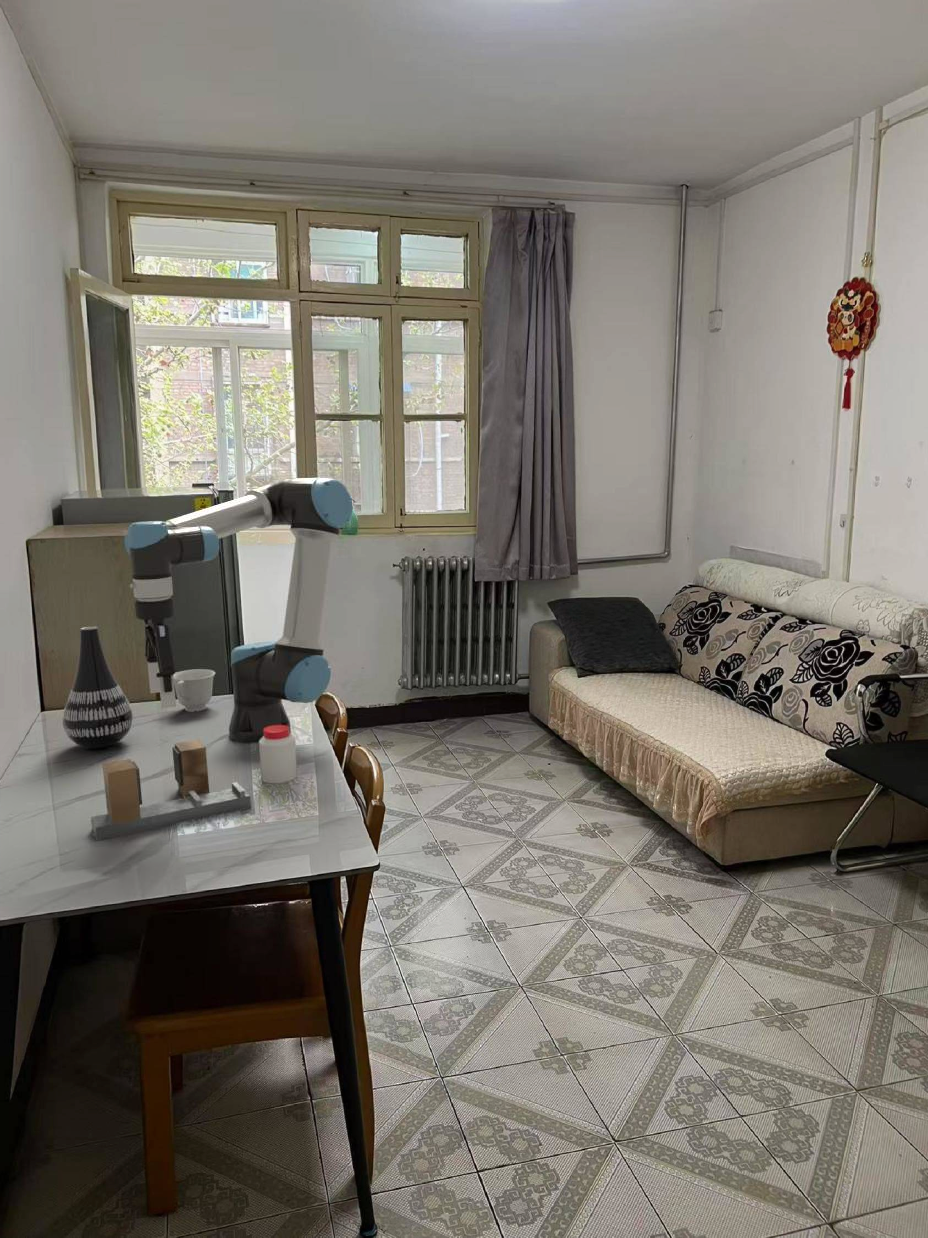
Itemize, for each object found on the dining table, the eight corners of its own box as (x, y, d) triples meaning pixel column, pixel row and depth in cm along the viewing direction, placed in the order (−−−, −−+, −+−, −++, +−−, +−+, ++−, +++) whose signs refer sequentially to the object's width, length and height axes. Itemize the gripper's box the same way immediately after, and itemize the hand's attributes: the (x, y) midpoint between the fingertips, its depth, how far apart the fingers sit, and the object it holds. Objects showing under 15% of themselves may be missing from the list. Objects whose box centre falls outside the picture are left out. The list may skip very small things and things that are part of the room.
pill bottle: (304, 773, 203) (301, 725, 201) (283, 785, 196) (280, 735, 194) (275, 769, 206) (272, 721, 204) (253, 780, 199) (250, 731, 197)
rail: (242, 798, 189) (238, 739, 187) (251, 807, 184) (246, 747, 182) (92, 829, 175) (85, 766, 173) (96, 840, 170) (90, 776, 168)
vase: (135, 733, 236) (125, 619, 231) (134, 751, 221) (123, 630, 216) (68, 740, 231) (56, 625, 226) (62, 760, 216) (49, 636, 211)
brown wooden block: (202, 784, 198) (198, 739, 196) (209, 793, 193) (205, 747, 191) (175, 789, 195) (171, 744, 193) (182, 798, 190) (178, 752, 188)
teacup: (160, 717, 249) (156, 681, 247) (185, 702, 264) (182, 668, 262) (202, 718, 247) (199, 682, 245) (225, 703, 262) (222, 669, 260)
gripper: (125, 592, 196) (134, 688, 200) (144, 608, 175) (154, 716, 178) (162, 589, 200) (170, 684, 204) (184, 604, 178) (193, 710, 182)
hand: (162, 699), depth 191 cm, fingers open, 13 cm apart
